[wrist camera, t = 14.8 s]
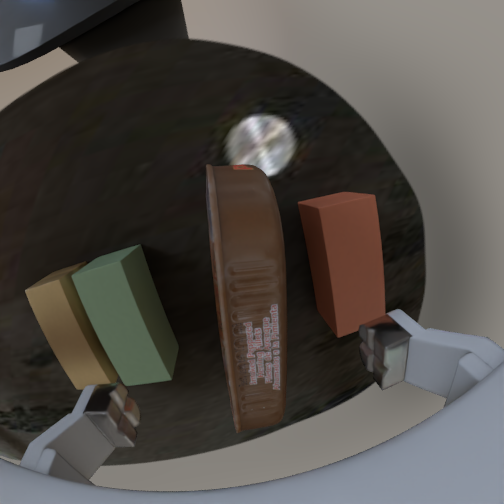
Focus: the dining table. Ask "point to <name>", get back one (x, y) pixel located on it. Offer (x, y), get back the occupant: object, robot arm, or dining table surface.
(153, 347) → the sage block
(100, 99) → the dining table surface
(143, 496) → the robot arm
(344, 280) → the terracotta block
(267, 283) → the tin
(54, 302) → the beech block
